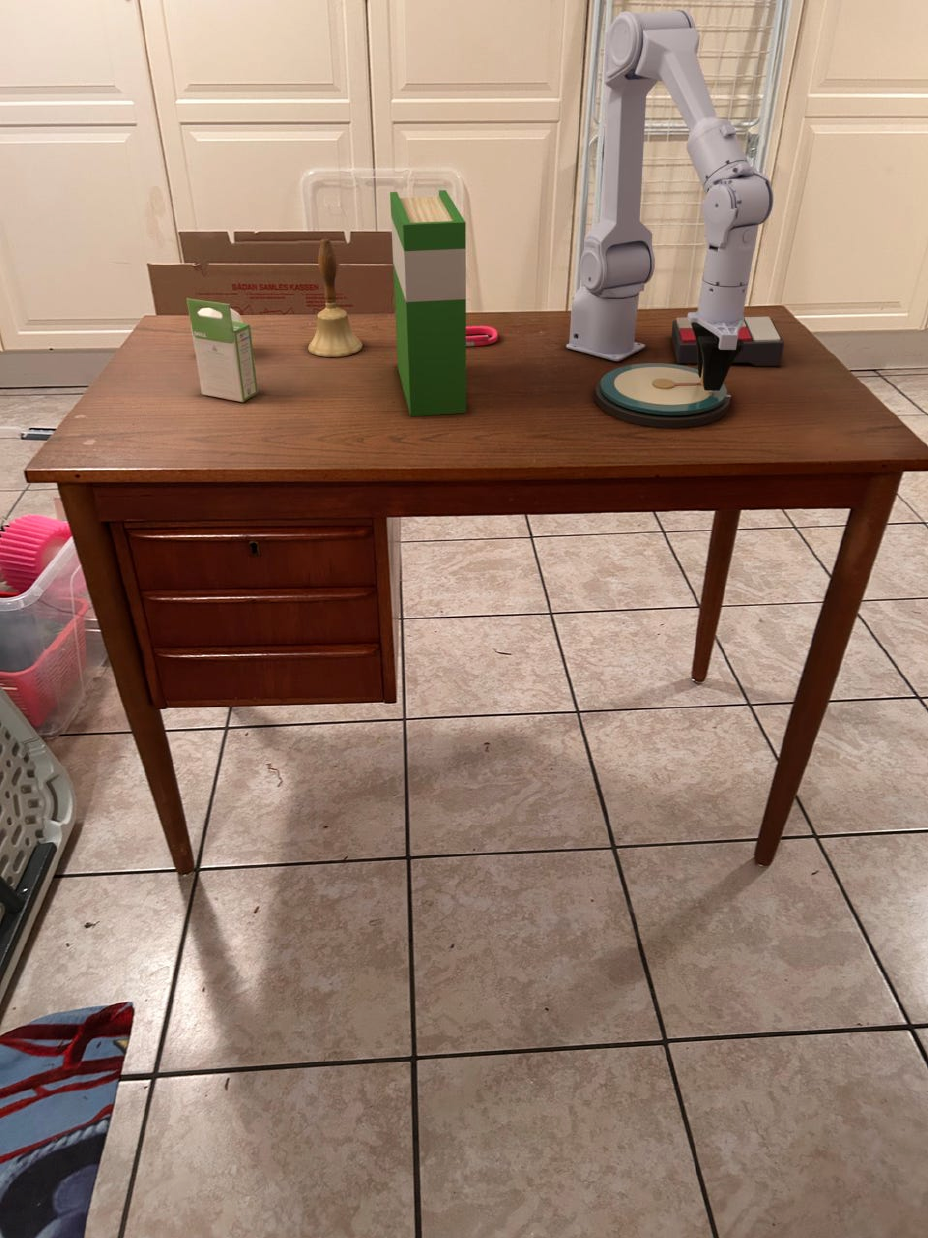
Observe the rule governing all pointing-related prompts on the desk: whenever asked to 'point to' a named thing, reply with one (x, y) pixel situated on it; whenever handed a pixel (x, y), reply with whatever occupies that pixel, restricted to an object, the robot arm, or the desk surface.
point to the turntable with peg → (660, 389)
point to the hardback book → (430, 302)
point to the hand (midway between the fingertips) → (709, 383)
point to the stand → (660, 420)
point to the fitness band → (480, 339)
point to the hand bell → (332, 314)
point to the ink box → (223, 353)
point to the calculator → (755, 333)
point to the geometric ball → (214, 313)
